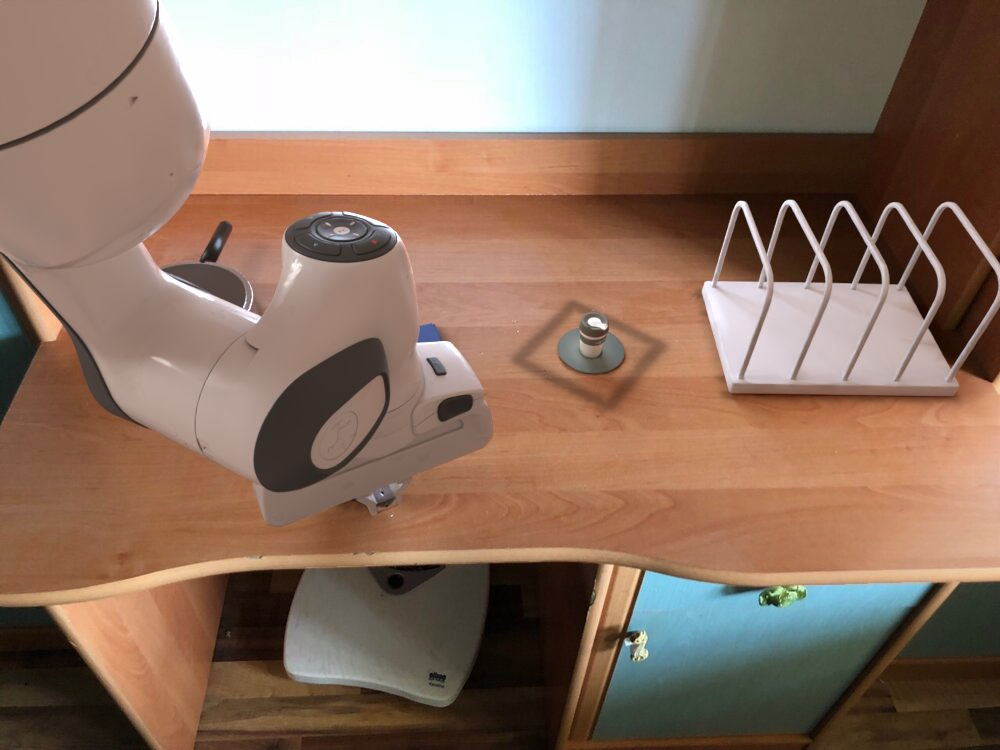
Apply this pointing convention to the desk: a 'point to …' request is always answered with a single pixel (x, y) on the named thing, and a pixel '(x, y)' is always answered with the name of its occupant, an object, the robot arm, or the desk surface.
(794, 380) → the file sorter
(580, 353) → the grey knobbed disc
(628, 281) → the desk surface
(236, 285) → the steel pan
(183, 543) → the desk surface
